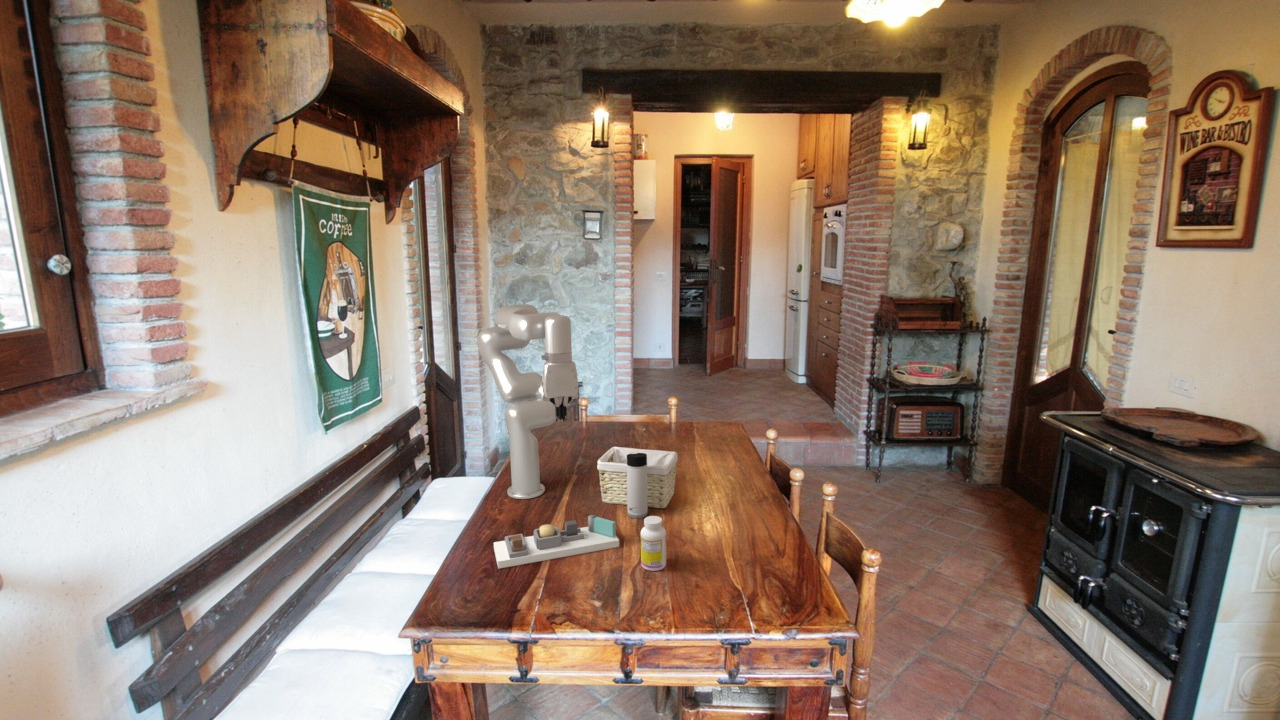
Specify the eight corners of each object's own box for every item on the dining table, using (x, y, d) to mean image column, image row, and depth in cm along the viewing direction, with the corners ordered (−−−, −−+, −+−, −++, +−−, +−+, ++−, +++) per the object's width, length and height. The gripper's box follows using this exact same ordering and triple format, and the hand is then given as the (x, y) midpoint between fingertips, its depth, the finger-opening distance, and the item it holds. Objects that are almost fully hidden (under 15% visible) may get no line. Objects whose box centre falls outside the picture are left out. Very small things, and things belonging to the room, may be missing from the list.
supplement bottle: (651, 556, 160) (651, 511, 158) (671, 564, 156) (671, 518, 154) (635, 566, 155) (635, 520, 153) (655, 575, 151) (655, 527, 148)
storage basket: (596, 503, 194) (595, 460, 191) (612, 485, 209) (611, 445, 206) (667, 512, 187) (667, 467, 184) (679, 492, 202) (679, 450, 199)
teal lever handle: (586, 530, 170) (586, 517, 169) (591, 527, 172) (591, 514, 171) (611, 537, 166) (611, 524, 165) (616, 534, 168) (616, 521, 167)
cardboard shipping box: (512, 549, 160) (511, 535, 159) (521, 548, 160) (520, 534, 160) (513, 555, 157) (513, 541, 156) (522, 553, 158) (522, 539, 157)
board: (493, 549, 165) (492, 527, 164) (608, 529, 176) (607, 509, 174) (498, 568, 155) (496, 545, 153) (619, 546, 165) (618, 525, 164)
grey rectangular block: (565, 534, 168) (564, 521, 167) (575, 533, 169) (575, 520, 168) (567, 538, 165) (566, 525, 165) (577, 536, 166) (577, 523, 166)
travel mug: (630, 520, 181) (629, 458, 178) (625, 511, 188) (624, 450, 184) (650, 517, 183) (649, 455, 179) (644, 508, 189) (643, 448, 186)
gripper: (535, 362, 168) (538, 424, 171) (587, 358, 172) (588, 419, 176) (531, 357, 175) (534, 417, 178) (580, 354, 179) (582, 412, 183)
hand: (561, 418), depth 177 cm, fingers closed
